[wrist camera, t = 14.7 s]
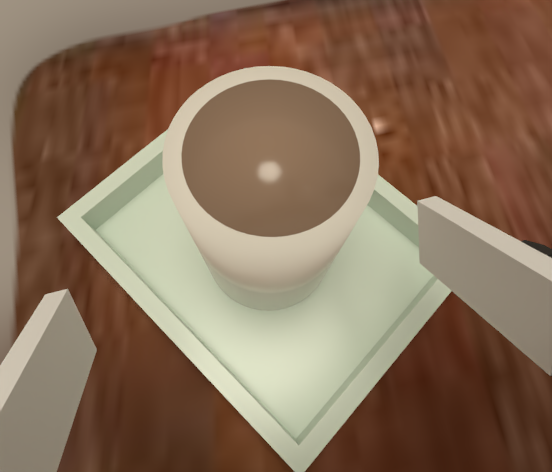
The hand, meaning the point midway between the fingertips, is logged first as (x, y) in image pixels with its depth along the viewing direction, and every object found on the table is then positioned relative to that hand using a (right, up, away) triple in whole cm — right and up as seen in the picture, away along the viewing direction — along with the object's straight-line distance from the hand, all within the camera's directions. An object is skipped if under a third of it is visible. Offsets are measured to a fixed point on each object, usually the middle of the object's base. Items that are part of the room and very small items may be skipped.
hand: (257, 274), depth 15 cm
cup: (0, +1, +11) cm, 11 cm away
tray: (0, 0, +12) cm, 12 cm away
